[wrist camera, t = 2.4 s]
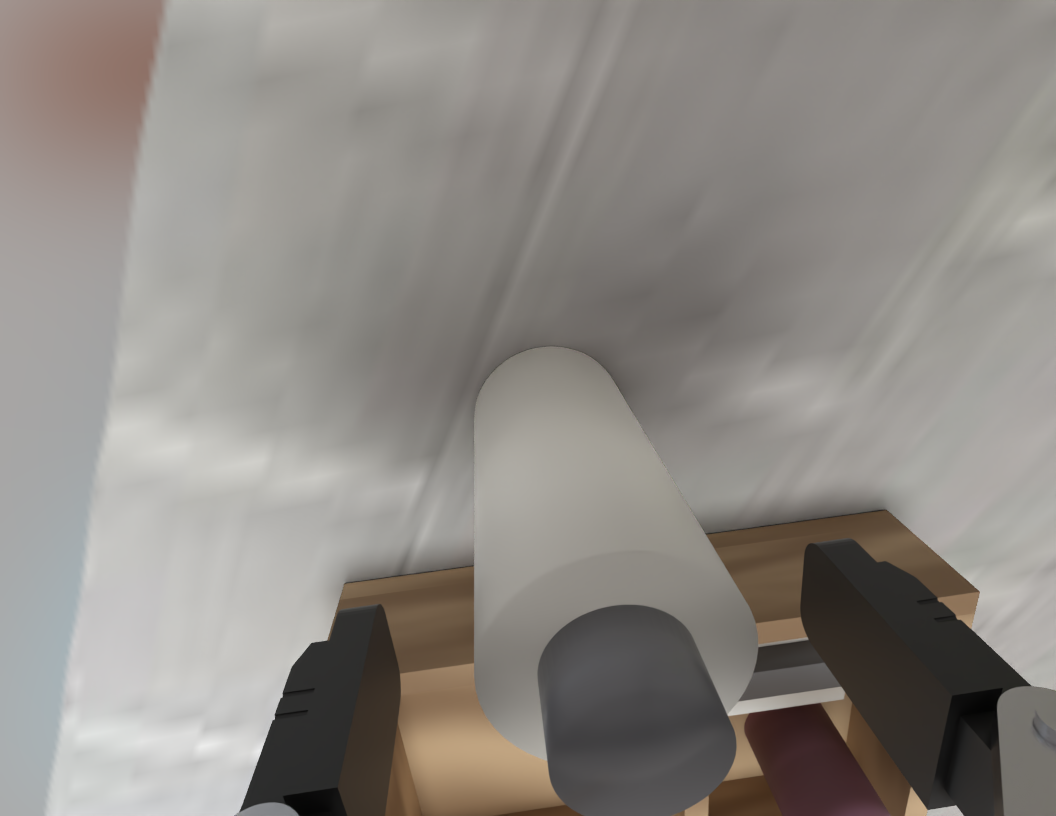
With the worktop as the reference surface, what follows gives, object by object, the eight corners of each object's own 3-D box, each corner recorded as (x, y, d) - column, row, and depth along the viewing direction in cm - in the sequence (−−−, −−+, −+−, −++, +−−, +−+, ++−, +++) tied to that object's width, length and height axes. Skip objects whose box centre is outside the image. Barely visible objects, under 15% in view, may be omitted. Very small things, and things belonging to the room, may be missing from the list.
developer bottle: (464, 356, 18) (449, 658, 7) (618, 337, 18) (822, 605, 7) (484, 490, 20) (496, 887, 9) (624, 471, 20) (796, 841, 9)
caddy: (344, 583, 21) (244, 916, 12) (886, 509, 21) (1185, 772, 12) (410, 821, 26) (376, 1182, 17) (848, 756, 26) (1042, 1070, 17)
